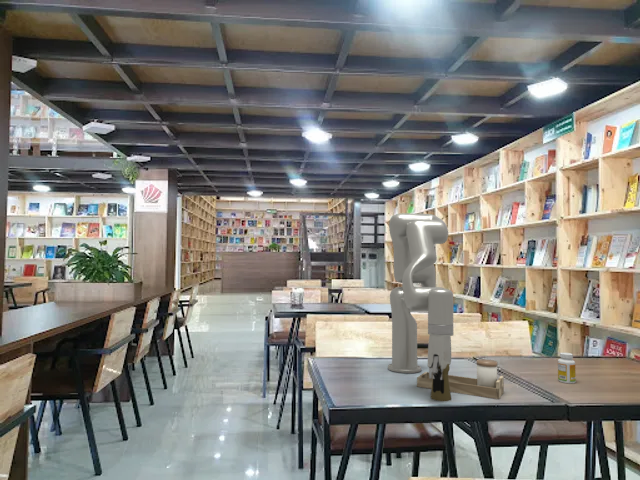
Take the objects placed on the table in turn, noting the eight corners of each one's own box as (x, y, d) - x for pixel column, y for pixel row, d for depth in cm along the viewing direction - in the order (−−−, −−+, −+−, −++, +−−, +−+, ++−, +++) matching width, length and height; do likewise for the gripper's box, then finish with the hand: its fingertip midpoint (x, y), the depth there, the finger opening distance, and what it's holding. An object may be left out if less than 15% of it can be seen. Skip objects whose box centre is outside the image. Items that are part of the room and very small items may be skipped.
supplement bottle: (573, 380, 157) (573, 352, 157) (577, 384, 152) (576, 355, 152) (556, 379, 159) (556, 351, 159) (559, 382, 154) (559, 354, 154)
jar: (478, 389, 144) (478, 358, 144) (499, 392, 140) (498, 360, 141) (474, 394, 138) (474, 361, 139) (496, 397, 135) (495, 364, 136)
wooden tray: (425, 380, 154) (425, 365, 154) (503, 392, 141) (503, 376, 141) (416, 386, 146) (417, 371, 147) (499, 399, 133) (498, 382, 134)
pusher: (435, 381, 151) (435, 339, 152) (437, 382, 151) (437, 340, 152) (429, 386, 145) (429, 342, 146) (431, 387, 145) (431, 343, 146)
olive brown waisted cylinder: (427, 395, 137) (427, 359, 137) (446, 395, 137) (446, 359, 138) (434, 401, 131) (434, 363, 131) (454, 401, 131) (454, 363, 132)
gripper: (436, 325, 144) (436, 383, 143) (419, 332, 130) (419, 395, 129) (459, 327, 140) (460, 386, 139) (445, 334, 126) (445, 400, 125)
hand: (440, 390), depth 134 cm, fingers closed on olive brown waisted cylinder, 4 cm apart
